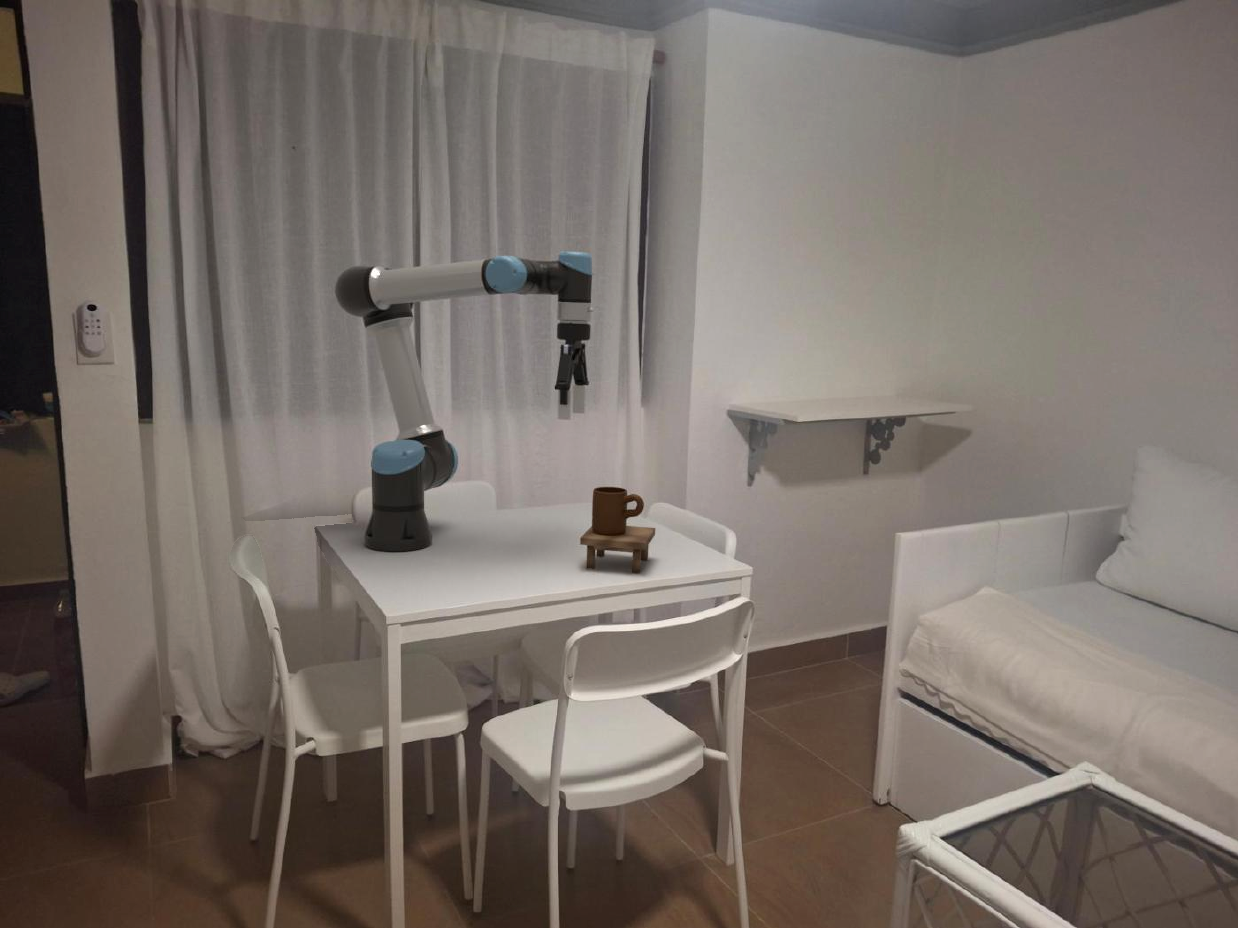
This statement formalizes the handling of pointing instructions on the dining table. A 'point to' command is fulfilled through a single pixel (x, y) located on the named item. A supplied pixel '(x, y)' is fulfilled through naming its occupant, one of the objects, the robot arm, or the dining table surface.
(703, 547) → the dining table surface
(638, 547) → the stool
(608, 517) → the mug
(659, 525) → the dining table surface
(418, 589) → the dining table surface
